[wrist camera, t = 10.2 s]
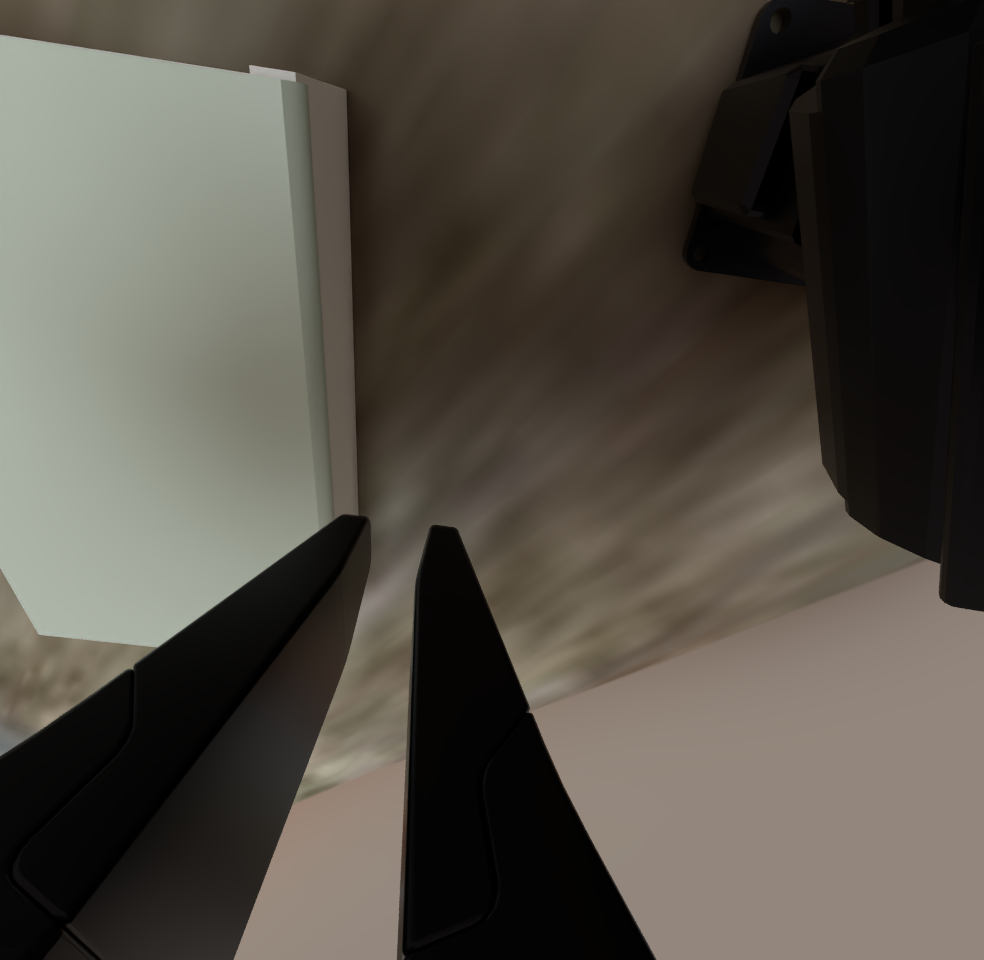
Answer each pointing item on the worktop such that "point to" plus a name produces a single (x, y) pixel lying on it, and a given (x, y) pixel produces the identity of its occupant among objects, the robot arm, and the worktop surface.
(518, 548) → the worktop surface
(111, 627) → the duct cover
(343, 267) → the cable duct
